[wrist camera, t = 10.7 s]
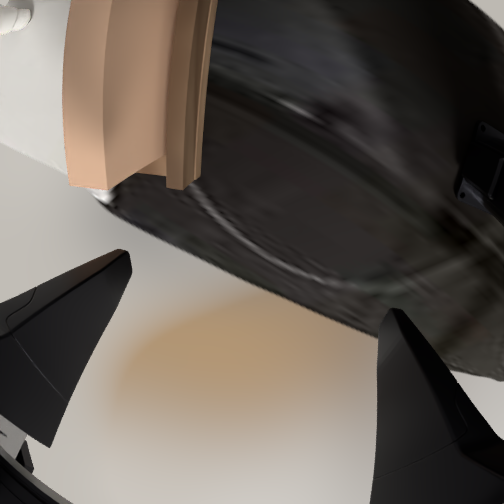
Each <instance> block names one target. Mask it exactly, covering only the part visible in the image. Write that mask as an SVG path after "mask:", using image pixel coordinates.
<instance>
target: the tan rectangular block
mask: <svg viewBox="0 0 504 504" xmlns="http://www.w3.org/2000/svg"><path fill="white" fill-rule="evenodd" d="M178 6H179V0H72V1H71V6H70V11H69V17H68V23H67V31H66V39H65V49H64V61H63V85H62V105H63V130H64V143H65V154H66V163H67V170H68V178H69V184H70V186H78V187H85V188H93V189H101V190H109V189H111V188H112V187H114V186H115V185H117V184H118V183H120V182H121V181H123V180H124V179H126V178H127V177H129V176H130V175H132V174H134V173H135V172H137V171H139V170H140V169H142V168H143V167H145V166H147V165H148V164H150V163H152V162H153V161H155V160H157V159H159V158H160V157H162V156H164V155H166V149H167V115H168V96H169V82H170V70H171V59H172V50H173V41H174V33H175V26H176V19H177V12H178Z"/></svg>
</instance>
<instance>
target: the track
mask: <svg viewBox="0 0 504 504" xmlns="http://www.w3.org/2000/svg"><path fill="white" fill-rule="evenodd" d="M217 3H218V0H179V6H178V12H177V19H176V26H175V33H174V41H173V50H172V59H171V70H170V82H169V96H168V115H167V149H166V155H164V156H162V157H160V158H159V159H157V160H155V161H153V162H152V163H150V164H148V165H147V166H145V167H143V168H142V169H140V170H139V171H137V173H146V174H154V175H162V176H166V184H167V188H173V189H179V190H183V189H185V188H186V187H187V186H188V185H189V184H190V183H191V182H192V181H193V180H196V179H197V178H198V177H199V176H200V174H201V155H202V139H203V124H204V112H205V100H206V89H207V79H208V70H209V61H210V52H211V44H212V37H213V29H214V22H215V15H216V9H217Z"/></svg>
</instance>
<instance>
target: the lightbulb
mask: <svg viewBox="0 0 504 504" xmlns="http://www.w3.org/2000/svg"><path fill="white" fill-rule="evenodd" d="M30 15H31V13H30V10H29V9H17V8H15V7H6V6H2V5H0V35H4V34H7V33H8V32H12V31H17V30H22V29H23V28H24V27H25V26H26V25H27V23H28V22H29V21H30V19H31V16H30Z"/></svg>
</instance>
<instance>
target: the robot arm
mask: <svg viewBox="0 0 504 504" xmlns="http://www.w3.org/2000/svg"><path fill="white" fill-rule="evenodd" d="M481 126H483V129H482V130H481ZM462 192H463V195H462V196H460V194H461V193H462ZM455 196H456V198H457V199H458V200H459V201H461V202H464V203H466V204H468V205H471V206H473V207H475V208H478V209H480V210H482V211H484V212H487V213H489V214H491V215H493V216H494V217H495V218H496V219H497V220H498V221H499V222H500V223H501V224H502V225H503V226H504V134H502V133H501V132H499V131H498V130H496V129H495V128H493V127H492V126H490V125H488V124H487V123H485V122H483V121H478V122H477V123H476V126H475V130H474V134H473V138H472V142H471V144H470V146H469V150H468V153H467V157H466V160H465V163H464V167H463V170H462V175H461V178H460V181H459V184H458V186H457V189H456V192H455ZM131 275H132V266H131V260H130V254H129V253H128V251H126V250H122V249H117V250H114V251H112V252H109V253H107V254H105V255H103V256H100V257H98V258H96V259H94V260H91V261H89V262H87V263H85V264H83V265H81V266H78V267H76V268H74V269H72V270H70V271H67V272H65V273H63V274H61V275H59V276H57V277H55V278H53V279H51V280H49V281H47V282H45V283H42V284H40V285H38V286H37V287H34V288H32V289H30V290H28V291H27V292H24V293H22V294H20V295H18V296H16V297H14V298H11V299H9V300H7V301H5V302H2V303H0V504H72V503H71V502H70V501H68V500H66V499H65V498H63V497H62V496H60V495H59V494H58V493H56V492H55V491H53V490H52V489H51V488H49V487H48V486H46V485H45V484H44V483H42V482H41V481H40V480H39V479H37V478H36V477H35V476H34V475H32V472H33V470H34V467H33V463H32V460H31V457H30V453H29V449H28V445H27V441H26V440H25V438H26V436H27V434H28V435H29V436H31V437H32V438H34V439H35V440H37V441H39V442H40V443H42V444H43V445H45V446H47V447H48V448H50V447H51V445H52V442H53V440H54V437H55V435H56V432H57V429H58V427H59V424H60V422H61V419H62V417H63V415H64V413H65V410H66V408H67V405H68V403H69V401H70V398H71V396H72V394H73V392H74V390H75V388H76V385H77V383H78V381H79V379H80V377H81V375H82V373H83V371H84V369H85V366H86V365H87V363H88V361H89V359H90V357H91V355H92V353H93V351H94V349H95V347H96V345H97V343H98V341H99V339H100V337H101V336H102V334H103V332H104V330H105V328H106V327H107V325H108V323H109V321H110V319H111V318H112V316H113V314H114V312H115V310H116V308H117V306H118V304H119V302H120V299H121V297H122V295H123V293H124V291H125V288H126V286H127V284H128V282H129V279H130V278H131ZM370 504H504V440H503V439H501V438H500V437H499V436H498V435H497V434H496V433H495V432H494V431H493V429H492V428H491V427H490V425H489V424H488V423H487V421H486V420H485V419H484V417H483V416H482V415H481V413H480V412H479V411H478V410H477V408H476V407H475V405H474V404H473V403H472V402H471V400H470V399H469V397H468V396H467V394H466V393H465V392H464V390H463V389H462V387H461V386H460V385H459V383H457V380H456V379H455V377H454V376H453V375H452V373H451V372H450V370H449V369H448V368H447V366H446V365H445V364H444V362H443V361H442V360H441V358H440V357H439V356H438V354H437V353H436V352H435V350H434V349H433V348H432V346H431V345H430V344H429V342H428V341H427V340H426V339H425V337H424V336H423V335H422V333H421V332H420V331H419V330H418V328H417V327H416V326H415V325H414V324H413V322H412V321H411V320H410V319H409V317H408V316H407V315H406V314H405V313H404V311H403V310H401V309H397V308H390V309H389V311H388V312H387V314H386V316H385V317H384V319H383V320H382V322H381V324H380V326H379V337H378V358H377V435H376V452H375V465H374V475H373V483H372V491H371V498H370Z"/></svg>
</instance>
